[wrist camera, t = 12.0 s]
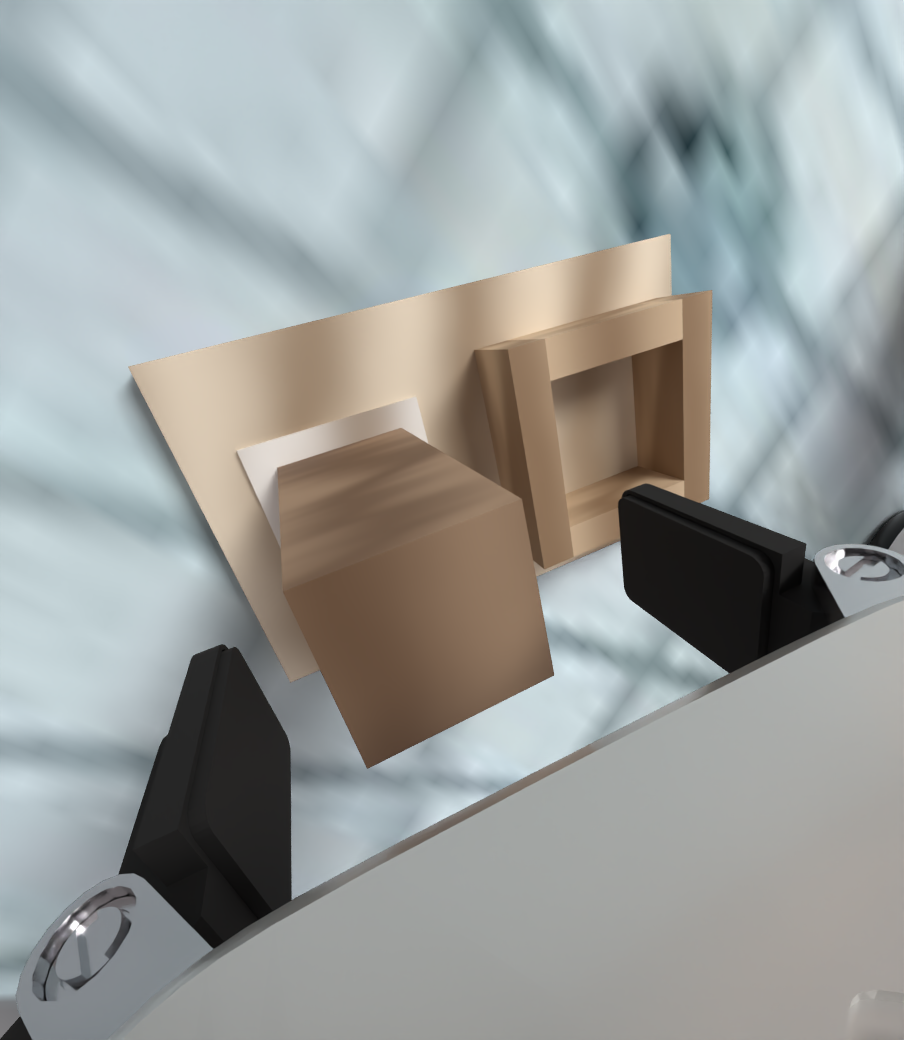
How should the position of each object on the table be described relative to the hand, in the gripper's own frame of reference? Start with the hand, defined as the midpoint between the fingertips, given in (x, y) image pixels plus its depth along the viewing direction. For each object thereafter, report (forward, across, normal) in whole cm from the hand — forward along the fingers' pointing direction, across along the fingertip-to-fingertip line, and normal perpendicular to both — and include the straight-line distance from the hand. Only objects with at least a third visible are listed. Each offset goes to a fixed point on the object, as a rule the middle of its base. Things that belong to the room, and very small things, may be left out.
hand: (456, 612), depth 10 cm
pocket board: (+11, -4, 0) cm, 12 cm away
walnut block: (+9, +1, 0) cm, 9 cm away
